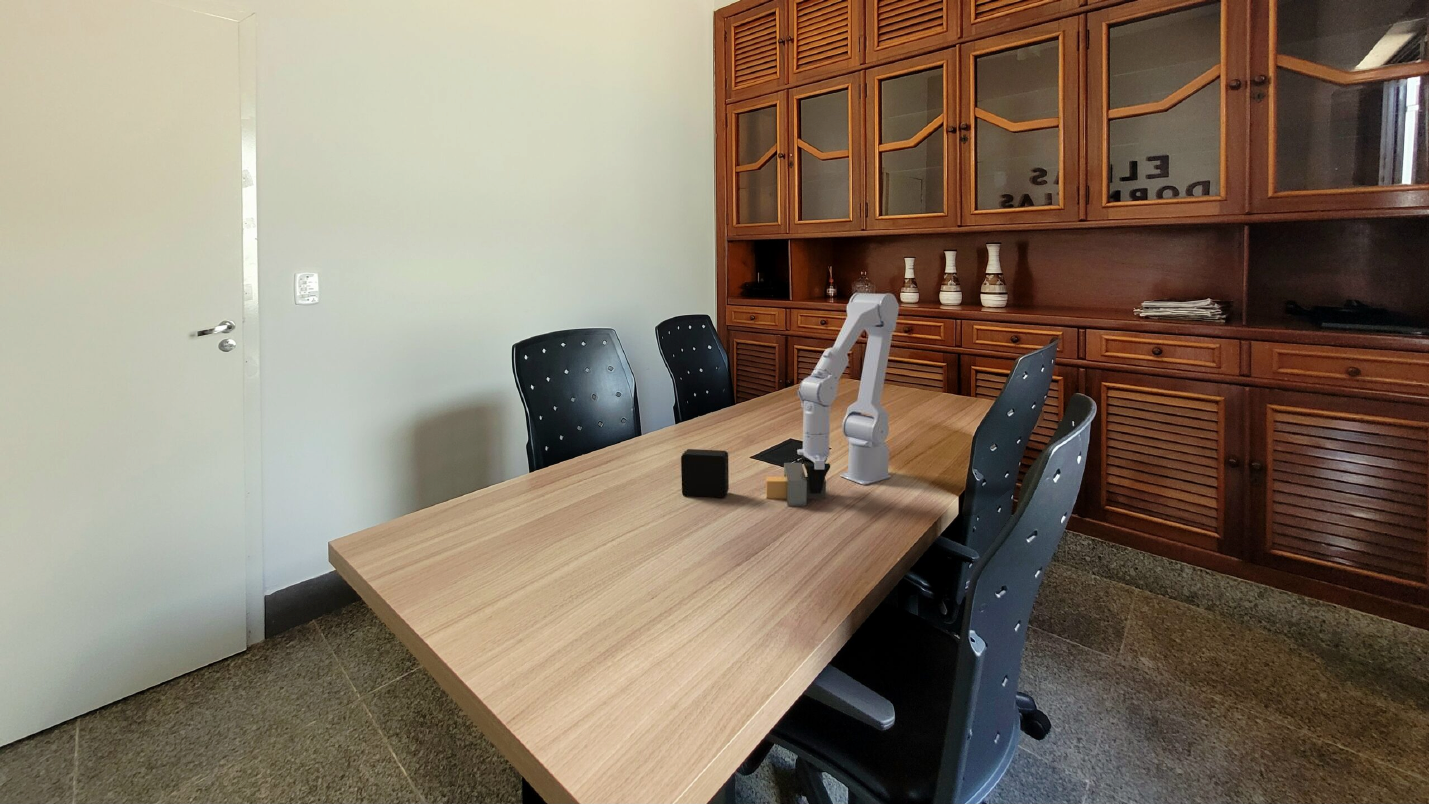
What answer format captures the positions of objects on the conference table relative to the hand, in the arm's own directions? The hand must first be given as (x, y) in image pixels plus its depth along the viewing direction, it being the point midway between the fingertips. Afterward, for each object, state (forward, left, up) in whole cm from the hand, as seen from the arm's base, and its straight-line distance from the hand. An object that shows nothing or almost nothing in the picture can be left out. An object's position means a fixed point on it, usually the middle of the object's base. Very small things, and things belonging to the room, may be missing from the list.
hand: (814, 490), depth 136 cm
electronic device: (+19, -15, -2) cm, 25 cm away
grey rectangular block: (+4, -3, -1) cm, 5 cm away
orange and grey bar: (+3, -3, -1) cm, 5 cm away
